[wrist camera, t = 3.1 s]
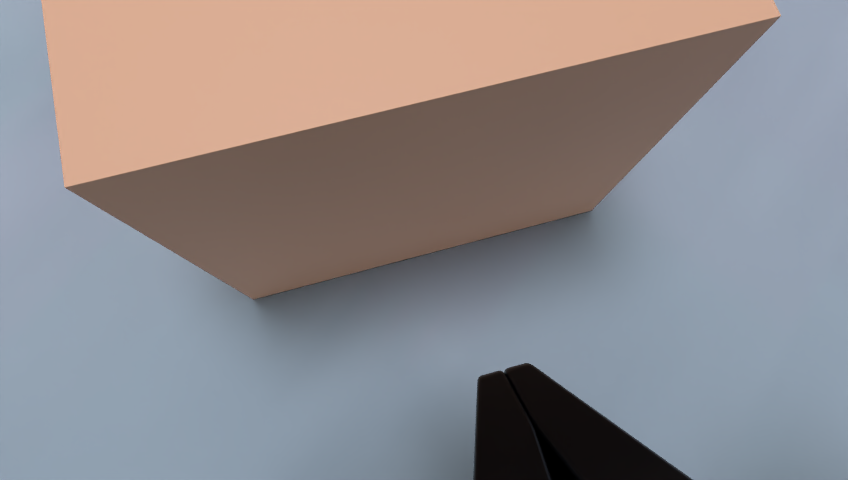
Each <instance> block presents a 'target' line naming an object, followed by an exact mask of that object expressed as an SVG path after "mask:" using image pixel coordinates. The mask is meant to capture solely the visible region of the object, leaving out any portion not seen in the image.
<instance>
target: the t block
mask: <svg viewBox="0 0 848 480" xmlns="http://www.w3.org/2000/svg"><path fill="white" fill-rule="evenodd" d="M41 1H42V9H43V17H44V25H45V33H46V41H47V49H48V57H49V65H50V73H51V81H52V90H53V98H54V106H55V114H56V122H57V130H58V138H59V146H60V154H61V162H62V170H63V178H64V186H65V188H66V189H68V190H70V191H72V192H73V193H75V194H77V195H78V196H80V197H82V198H83V199H85V200H87V201H88V202H90V203H92V204H93V205H95V206H97V207H98V208H100V209H102V210H104V211H105V212H107V213H109V214H110V215H112V216H114V217H115V218H117V219H119V220H120V221H122V222H124V223H125V224H127V225H129V226H130V227H132V228H134V229H135V230H137V231H139V232H141V233H142V234H144V235H146V236H147V237H149V238H151V239H152V240H154V241H156V242H157V243H159V244H161V245H162V246H164V247H166V248H167V249H169V250H171V251H173V252H174V253H176V254H178V255H179V256H181V257H183V258H184V259H186V260H188V261H189V262H191V263H193V264H194V265H196V266H198V267H199V268H201V269H203V270H204V271H206V272H208V273H210V274H211V275H213V276H215V277H216V278H218V279H220V280H221V281H223V282H225V283H226V284H228V285H230V286H231V287H233V288H235V289H236V290H238V291H240V292H242V293H243V294H245V295H247V296H248V297H250V298H252V299H253V300H254V299H257V298H261V297H265V296H269V295H273V294H276V293H280V292H284V291H288V290H292V289H295V288H299V287H303V286H307V285H311V284H314V283H318V282H322V281H326V280H330V279H333V278H337V277H341V276H345V275H349V274H352V273H356V272H360V271H364V270H368V269H371V268H375V267H379V266H383V265H387V264H390V263H394V262H398V261H402V260H406V259H409V258H413V257H417V256H421V255H425V254H428V253H432V252H436V251H440V250H444V249H447V248H451V247H455V246H459V245H463V244H466V243H470V242H474V241H478V240H481V239H485V238H489V237H493V236H497V235H500V234H504V233H508V232H512V231H516V230H519V229H523V228H527V227H531V226H535V225H538V224H542V223H546V222H550V221H554V220H557V219H561V218H565V217H569V216H573V215H576V214H580V213H584V212H588V211H592V210H593V209H594V207H595V206H596V205H597V204H598V203H599V202H600V201H601V200H602V199H603V198H604V197H605V196H606V195H607V194H608V193H609V192H610V191H611V190H612V189H613V188H614V187H615V186H616V185H617V184H618V183H619V182H620V181H621V180H622V179H623V178H624V177H625V176H626V175H627V174H628V173H629V172H630V170H631V169H632V168H633V167H634V166H635V165H636V164H637V163H638V162H639V161H640V160H641V159H642V158H643V157H644V156H645V155H646V154H647V153H648V152H649V151H650V150H651V149H652V148H653V147H654V146H655V145H656V144H657V143H658V142H659V141H660V140H661V139H662V138H663V137H664V136H665V135H666V134H667V132H668V131H669V130H670V129H671V128H672V127H673V126H674V125H675V124H676V123H677V122H678V121H679V120H680V119H681V118H682V117H683V116H684V115H685V114H686V113H687V112H688V111H689V110H690V109H691V108H692V107H693V106H694V105H695V104H696V103H697V102H698V101H699V100H700V99H701V98H702V97H703V95H704V94H705V93H706V92H707V91H708V90H709V89H710V88H711V87H712V86H713V85H714V84H715V83H716V82H717V81H718V80H719V79H720V78H721V77H722V76H723V75H724V74H725V73H726V72H727V71H728V70H729V69H730V68H731V67H732V66H733V65H734V64H735V63H736V62H737V61H738V60H739V58H740V57H741V56H742V55H743V54H744V53H745V52H746V51H747V50H748V49H749V48H750V47H751V46H752V45H753V44H754V43H755V42H756V41H757V40H758V39H759V38H760V37H761V36H762V35H763V34H764V33H765V32H766V31H767V30H768V29H769V28H770V27H771V26H772V25H773V24H774V23H775V21H776V20H777V19H778V18H779V17H780V16H781V15H780V13H779V11H778V9H777V7H776V5H775V3H774V1H773V0H41Z"/></svg>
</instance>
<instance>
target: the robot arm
mask: <svg viewBox="0 0 848 480" xmlns="http://www.w3.org/2000/svg"><path fill="white" fill-rule="evenodd" d="M473 480H692V479H691V478H690V477H688V476H687V475H685V474H684V473H683V472H681V471H680V470H678V469H677V468H676V467H674V466H673V465H671V464H670V463H669V462H667V461H666V460H664V459H663V458H662V457H660V456H659V455H657V454H656V453H655V452H653V451H652V450H650V449H649V448H648V447H646V446H645V445H643V444H642V443H641V442H639V441H638V440H636V439H635V438H634V437H632V436H631V435H629V434H628V433H627V432H625V431H624V430H622V429H621V428H620V427H618V426H617V425H615V424H614V423H613V422H611V421H610V420H608V419H607V418H606V417H604V416H603V415H601V414H600V413H599V412H597V411H596V410H595V409H593V408H592V407H590V406H589V405H588V404H586V403H585V402H583V401H582V400H581V399H579V398H578V397H576V396H575V395H574V394H572V393H571V392H569V391H568V390H567V389H565V388H564V387H562V386H561V385H560V384H558V383H557V382H555V381H554V380H553V379H551V378H550V377H548V376H547V375H546V374H544V373H543V372H541V371H540V370H539V369H537V368H536V367H534V366H533V365H531V364H529V363H524V364H521V365H517V366H514V367H510V368H507V369H506V370H505V371H504V373H503V372H502V371H496V372H493V373H489V374H485V375H482V376H480V377H479V378H478V382H477V405H476V429H475V452H474V476H473Z"/></svg>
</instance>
